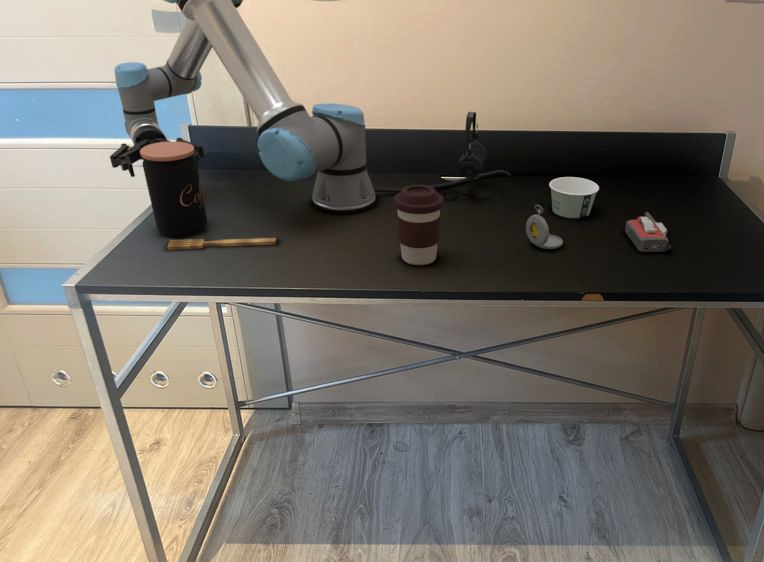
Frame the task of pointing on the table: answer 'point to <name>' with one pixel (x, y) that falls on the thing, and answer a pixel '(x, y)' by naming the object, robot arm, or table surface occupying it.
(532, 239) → the pocket watch
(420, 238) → the coffee cup
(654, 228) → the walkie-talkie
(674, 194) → the table surface
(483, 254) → the table surface
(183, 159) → the coffee jar
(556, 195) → the food container
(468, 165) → the headphones
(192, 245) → the tan flat long part
